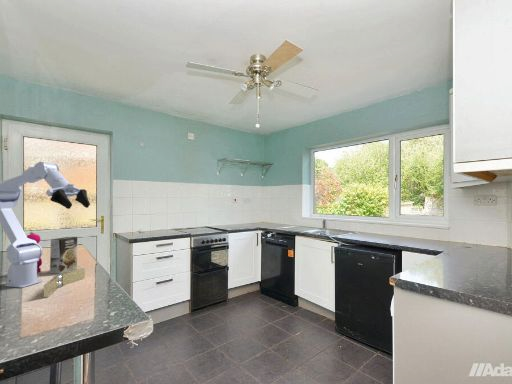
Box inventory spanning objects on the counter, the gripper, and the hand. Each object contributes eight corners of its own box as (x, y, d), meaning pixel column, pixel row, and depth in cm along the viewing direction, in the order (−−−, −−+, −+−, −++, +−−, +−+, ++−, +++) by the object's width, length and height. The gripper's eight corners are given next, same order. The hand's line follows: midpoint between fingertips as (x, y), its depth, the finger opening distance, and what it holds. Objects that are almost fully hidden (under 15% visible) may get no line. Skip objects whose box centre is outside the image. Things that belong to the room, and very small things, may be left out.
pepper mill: (29, 271, 127) (30, 230, 127) (45, 270, 127) (45, 229, 128) (17, 275, 119) (18, 232, 120) (34, 275, 120) (34, 231, 121)
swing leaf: (41, 297, 92) (41, 285, 92) (54, 286, 104) (54, 275, 104) (50, 296, 93) (50, 284, 93) (62, 285, 105) (62, 274, 105)
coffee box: (60, 274, 121) (61, 239, 122) (49, 273, 122) (49, 239, 123) (77, 268, 130) (78, 236, 130) (67, 268, 131) (67, 236, 132)
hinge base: (51, 288, 102) (51, 276, 102) (81, 278, 114) (81, 267, 115) (56, 288, 101) (57, 277, 101) (86, 278, 114) (86, 268, 114)
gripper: (45, 174, 96) (66, 199, 93) (81, 177, 110) (100, 198, 107) (35, 189, 97) (56, 213, 94) (72, 189, 111) (91, 211, 108)
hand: (79, 206), depth 101 cm, fingers open, 7 cm apart
